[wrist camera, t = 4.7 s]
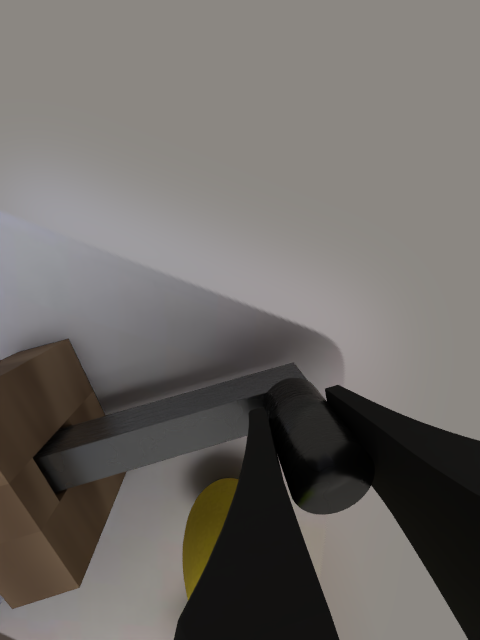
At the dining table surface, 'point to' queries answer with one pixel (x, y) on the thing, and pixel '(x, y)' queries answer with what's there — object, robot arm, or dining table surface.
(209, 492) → the lemon
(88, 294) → the dining table surface
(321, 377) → the dining table surface
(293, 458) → the shaft
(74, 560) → the bracket
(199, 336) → the dining table surface
